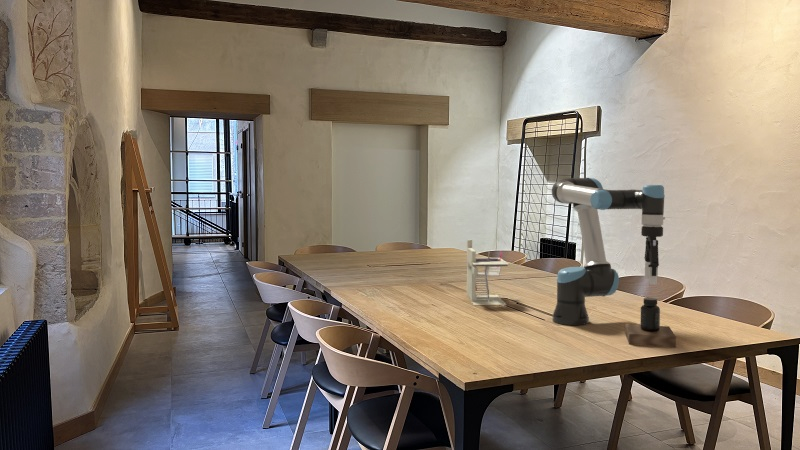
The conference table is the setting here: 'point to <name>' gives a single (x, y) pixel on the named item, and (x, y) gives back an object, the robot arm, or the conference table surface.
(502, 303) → the white ladder tower
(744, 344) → the conference table surface
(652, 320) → the supplement bottle
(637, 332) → the walnut base
